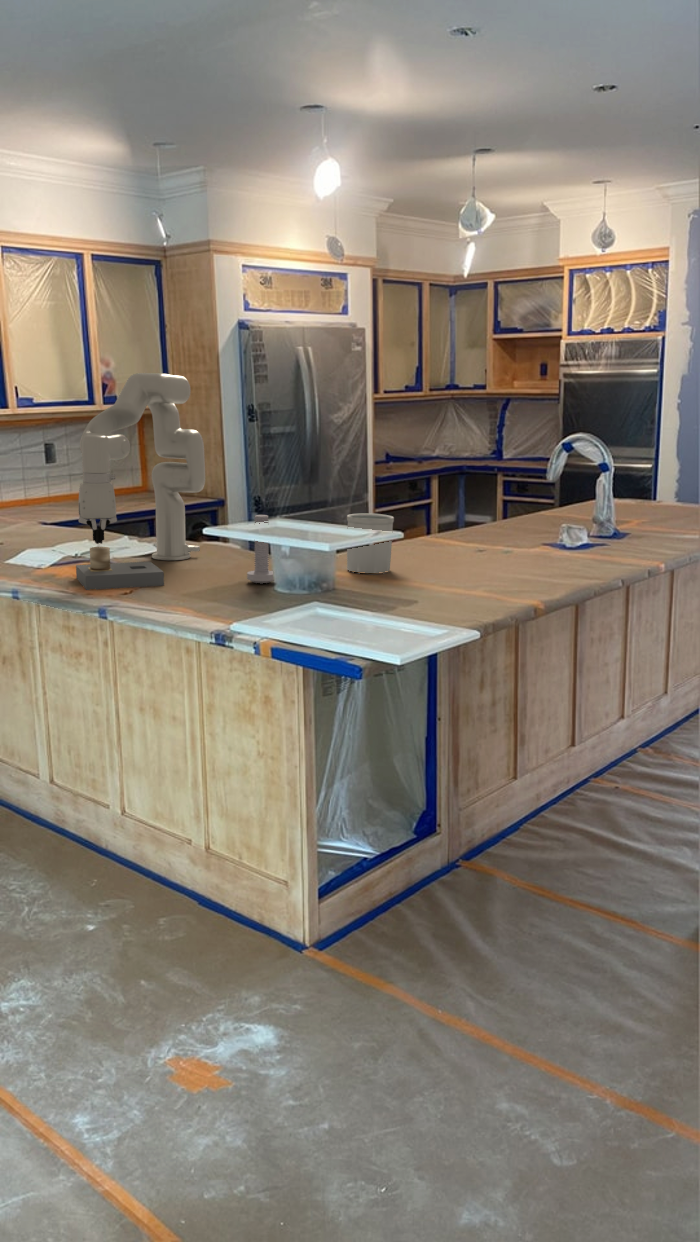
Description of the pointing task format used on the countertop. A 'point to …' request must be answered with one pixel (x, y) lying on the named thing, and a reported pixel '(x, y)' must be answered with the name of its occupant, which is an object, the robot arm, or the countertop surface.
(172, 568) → the countertop surface
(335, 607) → the countertop surface
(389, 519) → the utensil holder
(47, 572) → the countertop surface
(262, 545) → the screw
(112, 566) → the seat block
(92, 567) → the peg
